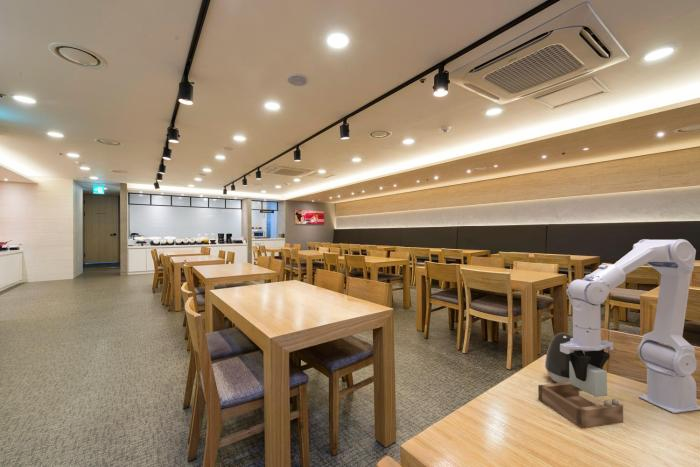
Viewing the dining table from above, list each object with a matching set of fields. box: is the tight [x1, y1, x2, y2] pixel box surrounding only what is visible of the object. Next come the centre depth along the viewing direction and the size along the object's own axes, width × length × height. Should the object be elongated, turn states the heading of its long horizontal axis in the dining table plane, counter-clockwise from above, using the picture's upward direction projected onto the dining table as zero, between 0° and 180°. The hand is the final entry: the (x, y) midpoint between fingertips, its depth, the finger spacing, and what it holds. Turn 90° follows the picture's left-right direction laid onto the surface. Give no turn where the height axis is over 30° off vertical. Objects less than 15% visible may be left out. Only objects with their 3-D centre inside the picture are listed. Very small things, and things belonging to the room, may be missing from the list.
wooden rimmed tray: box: [537, 382, 624, 429], centre depth 76 cm, size 12×12×5 cm
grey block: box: [569, 361, 608, 398], centre depth 77 cm, size 4×7×6 cm, turn 11°
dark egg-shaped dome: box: [544, 332, 573, 383], centre depth 91 cm, size 10×10×15 cm
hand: (587, 378), depth 77 cm, fingers closed on grey block, 3 cm apart
